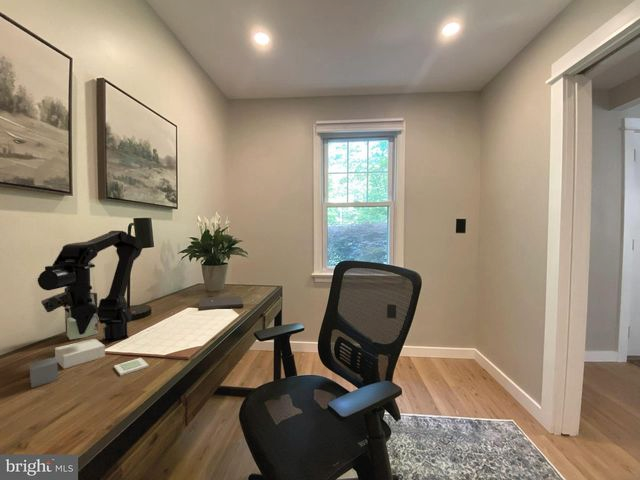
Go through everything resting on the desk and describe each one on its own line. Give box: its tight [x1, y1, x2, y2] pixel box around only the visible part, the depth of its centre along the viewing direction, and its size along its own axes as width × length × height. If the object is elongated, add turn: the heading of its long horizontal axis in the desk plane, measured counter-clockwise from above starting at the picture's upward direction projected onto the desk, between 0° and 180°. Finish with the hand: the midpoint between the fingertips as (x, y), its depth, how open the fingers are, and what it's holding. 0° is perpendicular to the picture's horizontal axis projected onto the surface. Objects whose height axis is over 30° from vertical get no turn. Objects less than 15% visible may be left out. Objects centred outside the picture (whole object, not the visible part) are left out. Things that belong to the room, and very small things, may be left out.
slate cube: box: [29, 356, 59, 388], centre depth 76 cm, size 5×5×5 cm
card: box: [113, 357, 149, 377], centre depth 84 cm, size 7×7×1 cm
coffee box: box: [64, 292, 99, 339], centre depth 108 cm, size 9×6×16 cm
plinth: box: [54, 338, 106, 370], centre depth 89 cm, size 10×10×4 cm
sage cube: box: [66, 318, 93, 341], centre depth 89 cm, size 6×6×6 cm
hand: (80, 331), depth 89 cm, fingers closed on sage cube, 5 cm apart
